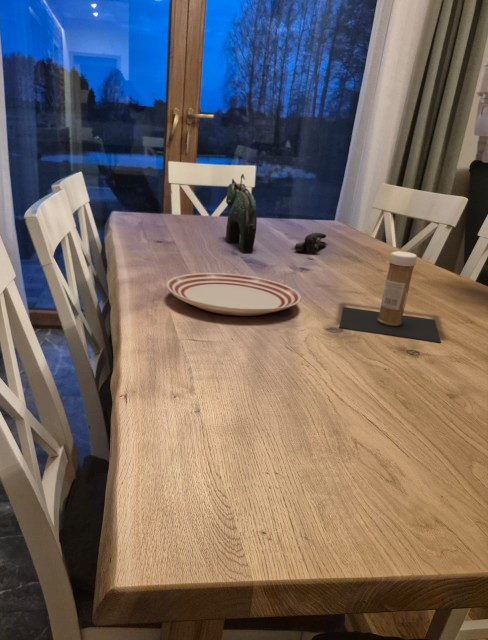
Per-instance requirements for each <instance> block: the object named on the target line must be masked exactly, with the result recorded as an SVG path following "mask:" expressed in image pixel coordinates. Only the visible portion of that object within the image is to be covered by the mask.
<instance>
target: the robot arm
mask: <svg viewBox="0 0 488 640" xmlns="http://www.w3.org/2000/svg"><path fill="white" fill-rule="evenodd" d="M482 65H483V66H482V69H481V73H480V77H479V80H478V81H479V82H478V85H477V89H476V94H477V97H479V101H478V105H477V111H476V117H475V123H474V136H477V137H478V139H477V143H476V144H477V145H476V152H475V156H474V159H475V161H481V162H482V163H486V164H487V163H488V56H487V57H486V58H485V61H484V63H483V64H482Z"/></svg>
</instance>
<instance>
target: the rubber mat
mask: <svg viewBox="0 0 488 640" xmlns="http://www.w3.org/2000/svg"><path fill="white" fill-rule="evenodd" d="M379 313H380V311H375V310H369V309H368V310H367V309H361V308H354V307H347V306H343V307H342V312H341V317H340V322H339V326H338V328H339V329H341V330H349V331H356V332H364V333H369V334H370V333H371V334H375V335H382V336H384V335H385V336H390V337H397V338H402V339H403V338H404V339H411V340H418V341H423V342H424V341H425V342H431V343H437V344H441V343H442V340H441V337H440V334H439V330H438V326H437V323H436V320H435V319H433V318H425V317H419V316H411V315H404V314H403V316H402V323H401V325H399V326H387V325H383V324H381V323H379V322H378V317H379Z"/></svg>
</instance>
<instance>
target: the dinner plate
mask: <svg viewBox="0 0 488 640" xmlns="http://www.w3.org/2000/svg"><path fill="white" fill-rule="evenodd" d="M165 288H166V289H167V291H168V292H169V293H170V294H171V295H173V296H174V297H176V298H177V299H178V300H180V301H182V302H185V303H186V304H189V305H190V306H191V305H192V307H196V308H197V309H200V310H203V311H206V312H210V313H215V314H220V315H227V316H239V317H240V316H241V317H251V316H253V317H254V316H261V315H262V316H263V315H267V314H271V313H275V312H279V311H283V310H286V309H289V308H290V307H293V306H296V305H298V304H299V303H300V302H301V301H302V296H301V294H300V292H298V290H296V289H294V288H293V287H290V286H288V285H286V284H283V283H280V282H277V281H274V280H270V279H266V278H263V277H262V278H261V277H257V276H252V275H251V276H250V275H244V274H237V273H227V272H195V273H194V272H193V273H187V274H181V275H177V276H174V277H172V278H169V279H168V280H167V281H166V283H165Z"/></svg>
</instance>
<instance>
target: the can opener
mask: <svg viewBox="0 0 488 640" xmlns="http://www.w3.org/2000/svg"><path fill="white" fill-rule="evenodd" d="M326 237H327V234H325V233H323V232H322V233H321V232H316V231H312V232H311V233H310V234H308V235H306V236H305V238H304V241H303V242H298V243H296V244H295V245H294V249H295V251H296V252H304V253H305V252H307V253H308V254H315V253H317V252H319V249H320V248H324V247H325V246H327V243H326V241H322V239H325V238H326Z"/></svg>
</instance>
